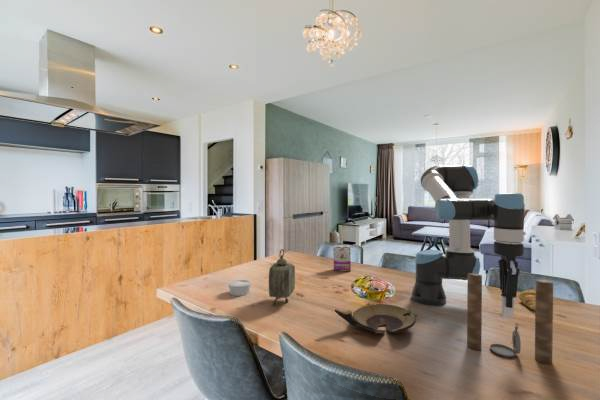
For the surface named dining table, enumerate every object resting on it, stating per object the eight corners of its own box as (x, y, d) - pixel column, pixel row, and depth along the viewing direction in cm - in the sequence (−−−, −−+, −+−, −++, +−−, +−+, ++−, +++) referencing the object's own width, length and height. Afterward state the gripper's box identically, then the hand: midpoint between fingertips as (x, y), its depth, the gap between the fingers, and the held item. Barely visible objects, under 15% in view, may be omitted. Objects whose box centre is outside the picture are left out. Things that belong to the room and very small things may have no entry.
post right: (537, 362, 83) (538, 282, 82) (532, 355, 86) (533, 279, 86) (554, 365, 81) (555, 284, 81) (549, 358, 85) (550, 280, 84)
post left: (468, 348, 90) (468, 275, 90) (466, 342, 94) (466, 272, 93) (482, 351, 89) (483, 277, 88) (480, 345, 92) (480, 274, 92)
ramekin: (253, 289, 148) (253, 279, 148) (247, 297, 137) (247, 286, 137) (233, 289, 149) (233, 279, 149) (225, 296, 138) (225, 286, 138)
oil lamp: (422, 347, 91) (423, 324, 91) (332, 335, 99) (332, 314, 99) (413, 318, 113) (413, 299, 113) (340, 310, 121) (340, 293, 121)
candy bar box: (350, 269, 187) (350, 245, 186) (350, 271, 182) (350, 246, 182) (333, 268, 189) (333, 245, 188) (333, 270, 184) (333, 246, 183)
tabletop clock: (277, 295, 138) (277, 246, 138) (295, 297, 136) (295, 246, 136) (268, 307, 124) (268, 252, 124) (288, 309, 122) (288, 252, 122)
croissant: (543, 322, 117) (555, 307, 114) (516, 306, 122) (527, 292, 119) (539, 305, 133) (549, 292, 131) (515, 291, 139) (525, 279, 136)
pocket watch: (484, 347, 91) (485, 317, 91) (508, 345, 92) (508, 316, 92) (505, 362, 83) (505, 329, 83) (531, 360, 84) (531, 327, 84)
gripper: (530, 246, 79) (529, 327, 80) (516, 239, 91) (515, 310, 92) (499, 244, 82) (498, 322, 83) (489, 238, 94) (489, 306, 95)
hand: (507, 316), depth 87 cm, fingers closed
